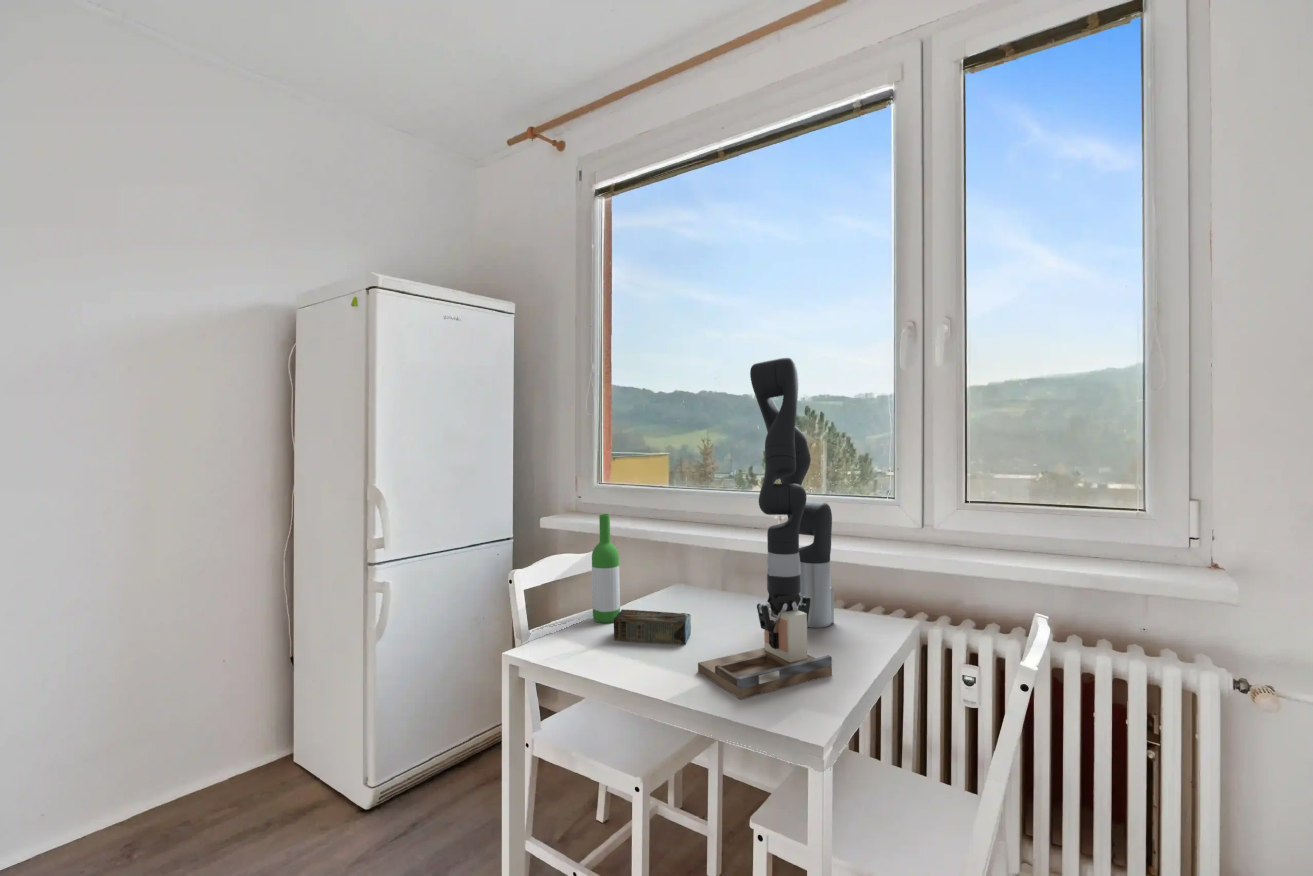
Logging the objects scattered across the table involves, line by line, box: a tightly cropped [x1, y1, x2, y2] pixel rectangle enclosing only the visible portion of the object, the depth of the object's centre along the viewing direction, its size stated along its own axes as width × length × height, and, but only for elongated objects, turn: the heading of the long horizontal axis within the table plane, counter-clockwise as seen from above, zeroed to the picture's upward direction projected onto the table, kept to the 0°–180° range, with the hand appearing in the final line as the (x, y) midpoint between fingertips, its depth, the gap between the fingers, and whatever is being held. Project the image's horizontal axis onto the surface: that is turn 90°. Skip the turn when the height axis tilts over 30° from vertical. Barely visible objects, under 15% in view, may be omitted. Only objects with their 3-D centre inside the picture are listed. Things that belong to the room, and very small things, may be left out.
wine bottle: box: [591, 513, 621, 624], centre depth 172 cm, size 8×8×30 cm
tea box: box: [763, 608, 808, 662], centre depth 138 cm, size 5×9×10 cm, turn 27°
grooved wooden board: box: [697, 647, 833, 700], centre depth 132 cm, size 24×16×4 cm
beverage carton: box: [613, 609, 692, 646], centre depth 156 cm, size 8×19×7 cm, turn 77°
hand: (784, 645), depth 138 cm, fingers closed on tea box, 5 cm apart
